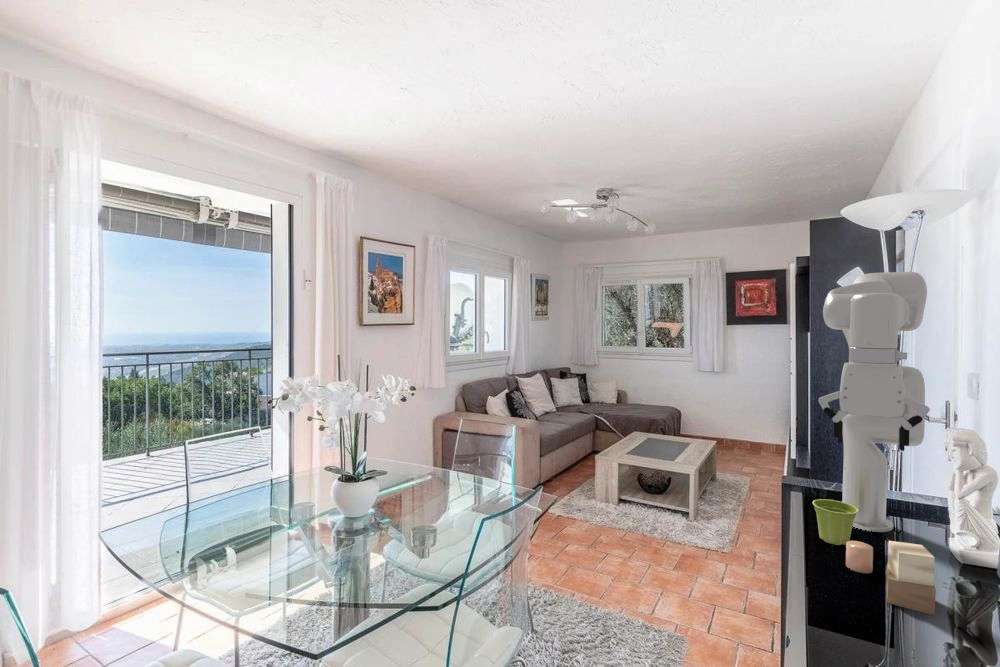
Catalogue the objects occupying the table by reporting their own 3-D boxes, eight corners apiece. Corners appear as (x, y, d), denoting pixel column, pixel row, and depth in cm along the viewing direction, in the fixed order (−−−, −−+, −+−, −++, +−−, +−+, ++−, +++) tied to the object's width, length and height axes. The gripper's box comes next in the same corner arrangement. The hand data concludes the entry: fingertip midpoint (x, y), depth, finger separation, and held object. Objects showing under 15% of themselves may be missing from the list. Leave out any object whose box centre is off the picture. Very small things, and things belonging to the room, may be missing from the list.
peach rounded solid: (845, 560, 115) (846, 538, 115) (872, 566, 112) (872, 544, 112) (845, 569, 111) (846, 546, 111) (872, 575, 108) (873, 552, 108)
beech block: (887, 567, 102) (888, 540, 102) (921, 572, 100) (922, 544, 100) (898, 580, 97) (899, 552, 97) (933, 586, 95) (934, 557, 95)
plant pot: (814, 529, 132) (815, 496, 132) (858, 539, 126) (859, 504, 126) (808, 541, 125) (809, 506, 124) (855, 553, 119) (856, 516, 118)
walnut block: (885, 587, 104) (886, 564, 104) (930, 599, 100) (931, 574, 100) (887, 603, 98) (888, 578, 98) (934, 616, 94) (935, 590, 94)
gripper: (928, 358, 96) (925, 448, 96) (820, 354, 106) (818, 435, 106) (933, 361, 90) (930, 457, 90) (818, 356, 100) (815, 442, 100)
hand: (869, 445), depth 98 cm, fingers open, 9 cm apart
